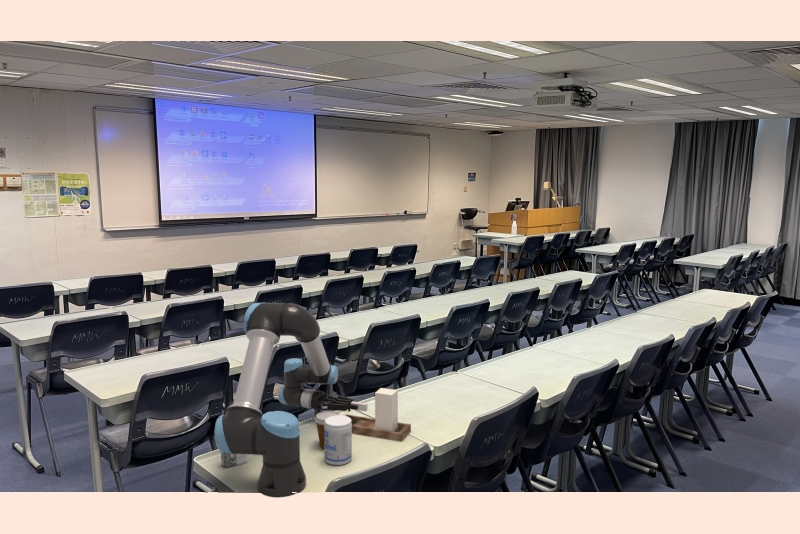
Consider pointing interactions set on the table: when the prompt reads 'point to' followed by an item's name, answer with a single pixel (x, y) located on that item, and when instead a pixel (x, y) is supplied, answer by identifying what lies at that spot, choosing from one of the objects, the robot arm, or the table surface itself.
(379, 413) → the block
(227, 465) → the ink box
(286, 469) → the robot arm
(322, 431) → the disposable coffee cup
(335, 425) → the supplement tub
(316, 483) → the table surface
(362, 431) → the trap track
